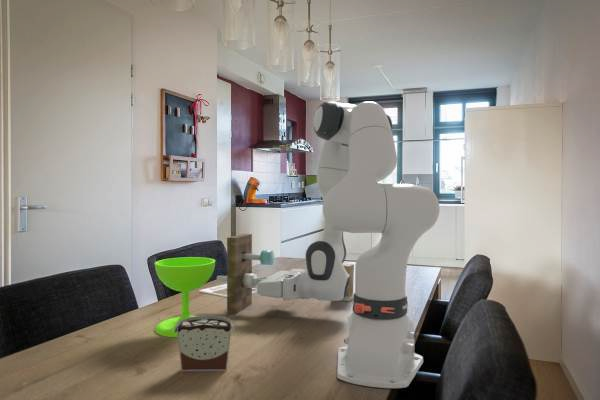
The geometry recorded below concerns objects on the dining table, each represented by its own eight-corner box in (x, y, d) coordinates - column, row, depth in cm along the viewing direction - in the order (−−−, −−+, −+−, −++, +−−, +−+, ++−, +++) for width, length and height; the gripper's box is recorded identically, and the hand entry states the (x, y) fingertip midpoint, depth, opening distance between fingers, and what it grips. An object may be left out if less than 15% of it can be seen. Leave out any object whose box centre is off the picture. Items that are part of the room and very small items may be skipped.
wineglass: (153, 322, 123) (153, 258, 123) (210, 316, 129) (210, 255, 129) (156, 340, 108) (155, 268, 108) (220, 333, 114) (220, 264, 114)
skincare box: (331, 299, 149) (332, 264, 149) (336, 296, 153) (337, 262, 153) (349, 301, 146) (349, 265, 146) (354, 299, 150) (354, 263, 150)
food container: (237, 359, 97) (237, 314, 97) (233, 370, 91) (233, 322, 90) (181, 359, 96) (181, 314, 96) (174, 371, 90) (173, 323, 90)
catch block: (251, 303, 143) (251, 234, 143) (236, 313, 132) (236, 237, 131) (243, 303, 144) (243, 233, 144) (227, 312, 133) (227, 237, 132)
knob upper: (274, 263, 137) (274, 249, 137) (269, 266, 133) (269, 251, 132) (237, 261, 140) (237, 248, 140) (231, 264, 136) (231, 250, 136)
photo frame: (227, 283, 172) (262, 289, 162) (227, 285, 172) (262, 292, 162) (198, 289, 160) (234, 297, 150) (198, 292, 160) (234, 300, 150)
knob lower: (257, 286, 139) (257, 272, 138) (251, 289, 134) (251, 275, 134) (221, 283, 142) (221, 270, 142) (214, 286, 138) (214, 272, 138)
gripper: (306, 267, 142) (266, 265, 146) (286, 279, 123) (241, 276, 127) (306, 286, 143) (266, 283, 147) (286, 302, 123) (241, 298, 127)
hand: (254, 280), depth 137 cm, fingers closed, pressing on knob lower
